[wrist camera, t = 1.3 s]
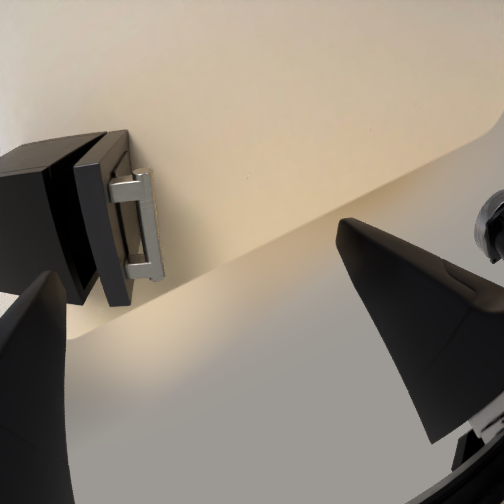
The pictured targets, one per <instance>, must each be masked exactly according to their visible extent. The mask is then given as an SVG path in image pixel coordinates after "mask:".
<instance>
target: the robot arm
mask: <svg viewBox="0 0 504 504" xmlns="http://www.w3.org/2000/svg"><path fill="white" fill-rule="evenodd" d="M485 226H486V233H487V240H488V247H489V256H490V262H491V263H492V264H494V263H496V262H497V261H499V260H500V259H501V258H502V259H503V260H504V209H502V210H501V211H500V212H498V213H497V214H496V215H494V216H493V217H492V218H490V219H489V220H488V221H487V222H486V224H485ZM336 246H337V249H338V251H339V254H340V256H341V258H342V260H343V262H344V265H345V267H346V269H347V271H348V274H349V276H350V278H351V281H352V283H353V285H354V287H355V289H356V291H357V292H358V294H359V296H360V298H361V299H362V301H363V303H364V305H365V307H366V309H367V311H368V312H369V314H370V316H371V318H372V320H373V322H374V324H375V326H376V327H377V329H378V331H379V333H380V335H381V337H382V339H383V341H384V343H385V345H386V347H387V349H388V351H389V353H390V355H391V357H392V359H393V361H394V363H395V365H396V367H397V369H398V371H399V373H400V375H401V377H402V379H403V382H404V384H405V386H406V388H407V390H408V393H409V395H410V397H411V399H412V401H413V404H414V405H415V408H416V410H417V412H418V415H419V417H420V419H421V422H422V424H423V426H424V428H425V431H426V433H427V436H428V438H429V440H430V442H431V444H433V443H435V442H437V441H438V440H440V439H441V438H443V437H445V436H446V435H448V434H449V433H451V432H452V431H453V430H455V429H456V428H458V427H459V426H461V425H462V424H463V423H465V422H466V421H467V420H468V421H469V423H470V425H471V427H472V429H470V430H469V431H468V432H467V433H465V434H464V435H463V436H461V437H460V438H459V439H458V444H457V448H456V453H455V457H454V461H453V465H452V468H451V470H452V473H451V474H449V475H448V476H447V477H445V478H444V479H442V480H441V481H440V482H438V483H437V484H435V485H434V486H432V487H431V488H429V489H428V490H426V491H425V492H423V493H422V494H420V495H419V496H417V497H415V498H414V499H412V500H410V501H409V502H407V503H405V504H504V288H503V287H501V286H500V285H497V284H495V283H493V282H491V281H489V280H486V279H484V278H482V277H480V276H478V275H476V274H473V273H471V272H469V271H467V270H465V269H463V268H461V267H459V266H456V265H454V264H452V263H450V262H448V261H446V260H444V259H441V258H440V257H438V256H436V255H434V254H432V253H430V252H428V251H426V250H424V249H422V248H420V247H417V246H415V245H413V244H411V243H409V242H406V241H405V240H402V239H400V238H398V237H396V236H394V235H391V234H389V233H387V232H385V231H382V230H380V229H378V228H376V227H373V226H371V225H369V224H366V223H364V222H362V221H359V220H357V219H354V218H344V219H341V220H340V221H339V224H338V230H337V236H336ZM66 302H67V294H66V290H65V287H64V286H63V284H62V282H61V280H60V278H59V276H58V274H57V272H56V271H55V270H53V269H51V270H46V271H43V272H42V273H41V274H40V275H39V276H38V277H37V278H36V279H35V280H34V281H33V282H32V283H31V284H30V285H29V286H28V287H27V288H26V289H25V291H24V292H23V293H22V294H21V295H20V296H19V297H18V298H17V299H16V300H15V302H14V303H13V304H12V305H11V306H10V307H9V308H8V310H7V311H6V312H5V313H4V314H3V315H2V317H1V318H0V504H75V502H74V496H73V490H72V484H71V478H70V470H69V465H68V455H67V444H66V431H65V410H64V409H65V408H64V376H65V352H66Z"/></svg>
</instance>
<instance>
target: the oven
mask: <svg viewBox="0 0 504 504" xmlns="http://www.w3.org/2000/svg"><path fill="white" fill-rule="evenodd" d="M106 134H107V131H106V132H97V133H89V134H81V135H74V136H67V137H61V138H55V139H49V140H44V141H39V142H33V143H29V144H24V145H21V146H19V147H17V148H15V149H13V150H12V151H10V152H8V153H6V154H5V155H3V156H1V157H0V292H4V293H9V294H14V295H21V294H22V293H23V292H24V291H25V289H26V288H27V287H28V286H29V285H30V284H31V283H32V282H33V281H34V280H35V279H36V278H37V277H38V276H39V275H40V274H41V273H42V272H43V271H46V270H51V269H53V270H55V271H56V272H57V274H58V276H59V278H60V280H61V282H62V284H63V286H64V287H65V290H66V294H67V302H66V303H67V304H74V305H81V306H83V304H84V303H85V301H86V299H87V297H88V295H89V293H90V291H91V290H92V288H93V286H94V284H95V283H96V281H97V279H98V277H99V274H98V270H97V267H96V264H95V260H94V257H93V253H92V250H91V246H90V243H89V239H88V235H87V231H86V227H85V223H84V219H83V215H82V210H81V206H80V201H79V197H78V192H77V187H76V181H75V176H74V170H73V166H74V165H75V164H76V163H77V162H78V161H79V160H80V159H81V158H82V157H83V156H84V155H85V154H86V153H87V152H88V151H89V150H90V149H91V148H92V147H93V146H94V145H95V144H97V143H98V142H99V141H100V140H101V139H102V138H103V137H104V136H105V135H106Z"/></svg>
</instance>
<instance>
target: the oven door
mask: <svg viewBox="0 0 504 504" xmlns="http://www.w3.org/2000/svg"><path fill="white" fill-rule="evenodd" d="M73 170H74V176H75V181H76V187H77V192H78V197H79V201H80V206H81V210H82V215H83V219H84V223H85V227H86V231H87V235H88V239H89V243H90V246H91V250H92V253H93V257H94V260H95V264H96V267H97V270H98V274H99V277H100V280H101V283H102V286H103V289H104V292H105V295H106V298H107V301H108V303H109V306H110V307H116V306H130V305H131V298H132V290H133V283H134V279H139V278H149V279H150V280H151V281H155V282H156V281H161V280H162V279H164V277H165V270H164V263H163V257H162V250H161V243H160V235H159V228H158V220H157V211H156V202H155V193H154V182H153V171H152V169H151V168H147V167H143V168H138V169H135V170H134V171H133V172H132V173H131V164H130V154H129V143H128V130H119V131H112V132H108V133H107V134H106V135H105V136H104V137H103V138H102V139H101V140H100V141H99V142H98V143H97V144H95V145H94V146H93V147H92V148H91V149H90V150H89V151H88V152H87V153H86V154H85V155H84V156H83V157H82V158H81V159H80V160H79V161H78V162H77V163H76V164H75V165H74V166H73ZM135 202H136V205H135ZM136 209H137V212H136ZM137 216H138V218H137ZM138 223H139V225H138ZM139 229H140V231H139ZM140 235H141V237H140ZM140 239H141V241H142V246H143V252H144V254H138V251H139V245H140Z"/></svg>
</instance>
